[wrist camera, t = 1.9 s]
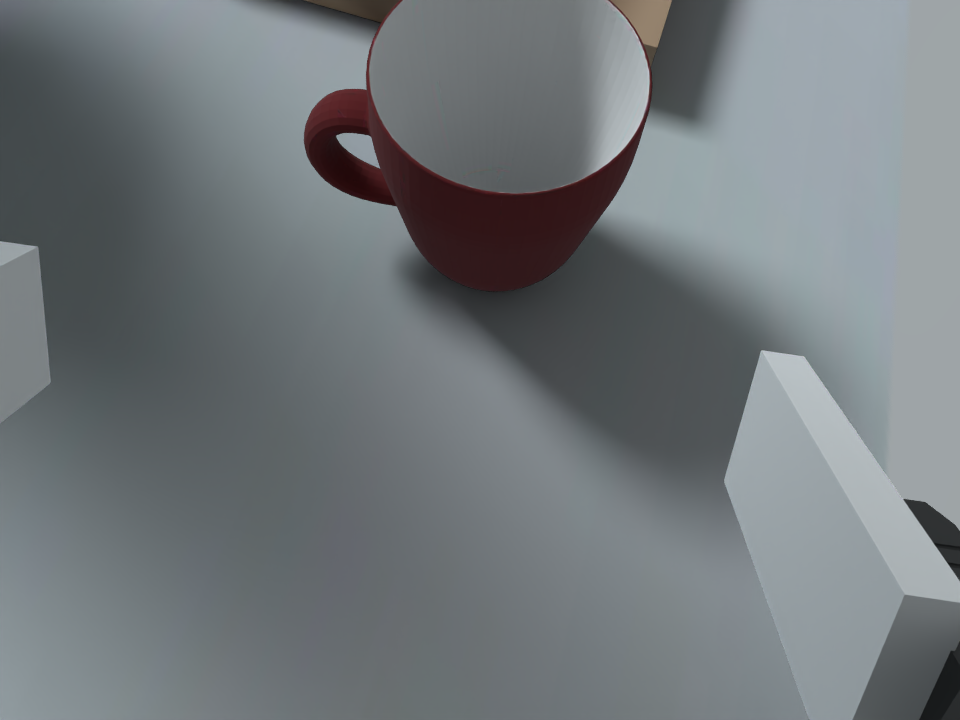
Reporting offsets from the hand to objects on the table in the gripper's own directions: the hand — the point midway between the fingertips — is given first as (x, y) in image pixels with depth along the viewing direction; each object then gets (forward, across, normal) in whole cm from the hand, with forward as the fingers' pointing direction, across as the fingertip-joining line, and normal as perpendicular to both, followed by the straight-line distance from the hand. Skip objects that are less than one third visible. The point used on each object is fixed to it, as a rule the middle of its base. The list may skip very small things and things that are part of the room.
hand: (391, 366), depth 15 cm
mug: (+18, 0, -3) cm, 18 cm away
